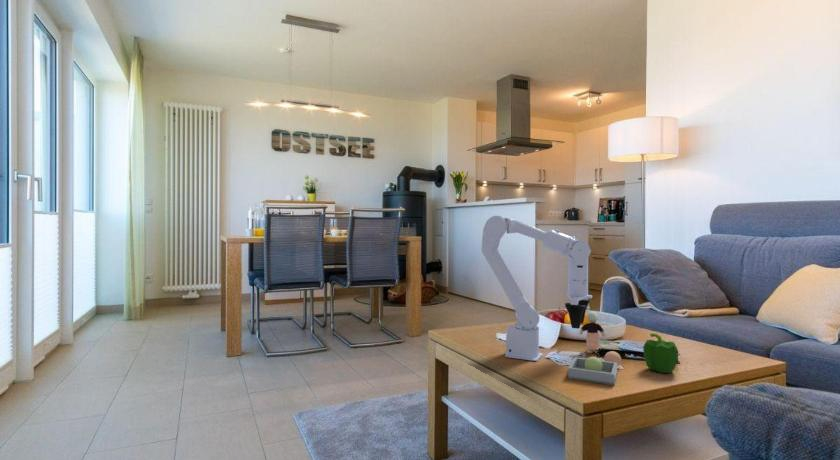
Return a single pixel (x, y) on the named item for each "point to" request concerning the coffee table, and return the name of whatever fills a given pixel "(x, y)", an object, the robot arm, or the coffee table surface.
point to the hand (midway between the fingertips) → (577, 325)
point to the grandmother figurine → (592, 332)
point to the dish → (593, 372)
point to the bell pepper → (660, 354)
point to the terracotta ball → (613, 357)
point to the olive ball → (593, 364)
